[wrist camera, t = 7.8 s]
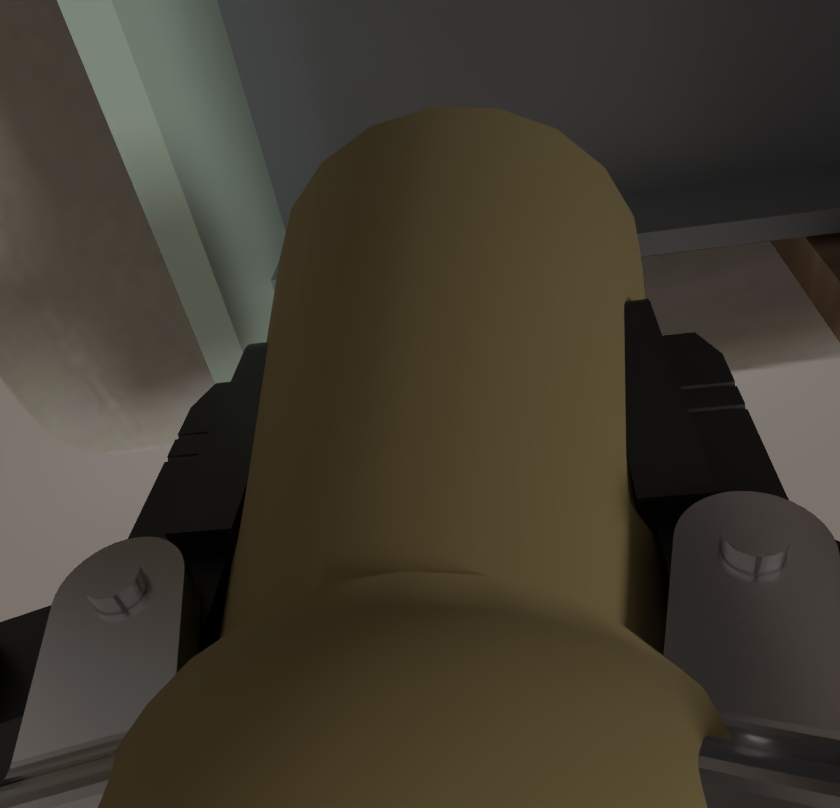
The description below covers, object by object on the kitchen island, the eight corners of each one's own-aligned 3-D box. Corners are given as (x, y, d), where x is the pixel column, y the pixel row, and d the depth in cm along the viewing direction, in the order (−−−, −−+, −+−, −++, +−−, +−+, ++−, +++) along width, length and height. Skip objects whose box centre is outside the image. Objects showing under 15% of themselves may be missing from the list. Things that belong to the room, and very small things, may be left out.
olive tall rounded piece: (326, 441, 15) (120, 1299, 6) (232, 136, 11) (-550, 1163, 3) (640, 414, 14) (899, 1365, 5) (646, 74, 11) (1432, 1290, 2)
